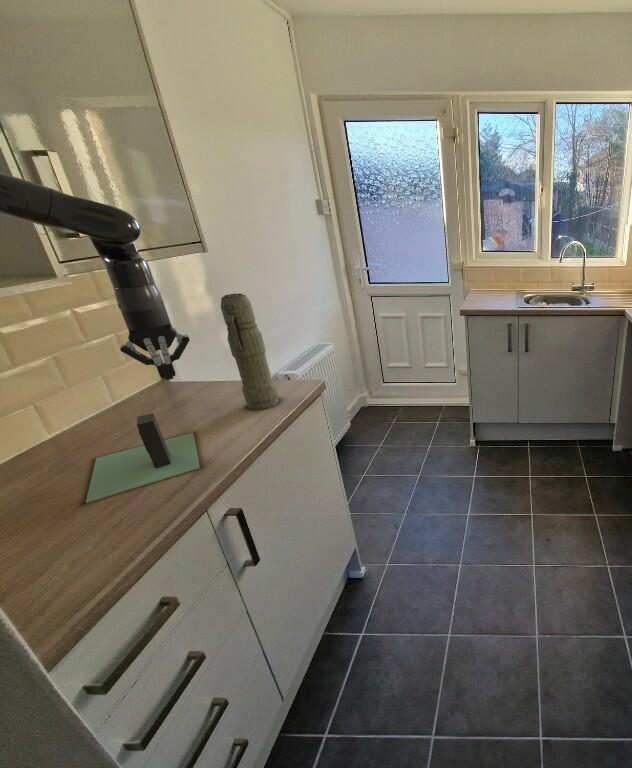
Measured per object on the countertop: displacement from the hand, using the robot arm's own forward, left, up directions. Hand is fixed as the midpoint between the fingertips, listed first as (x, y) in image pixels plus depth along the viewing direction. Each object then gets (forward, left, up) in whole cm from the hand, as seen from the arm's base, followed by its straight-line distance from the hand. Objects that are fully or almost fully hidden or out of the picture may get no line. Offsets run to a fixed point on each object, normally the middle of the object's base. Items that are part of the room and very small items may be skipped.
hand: (169, 378), depth 98 cm
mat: (-10, +2, -21) cm, 23 cm away
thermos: (+19, +21, -21) cm, 35 cm away
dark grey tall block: (-7, 0, -20) cm, 21 cm away
